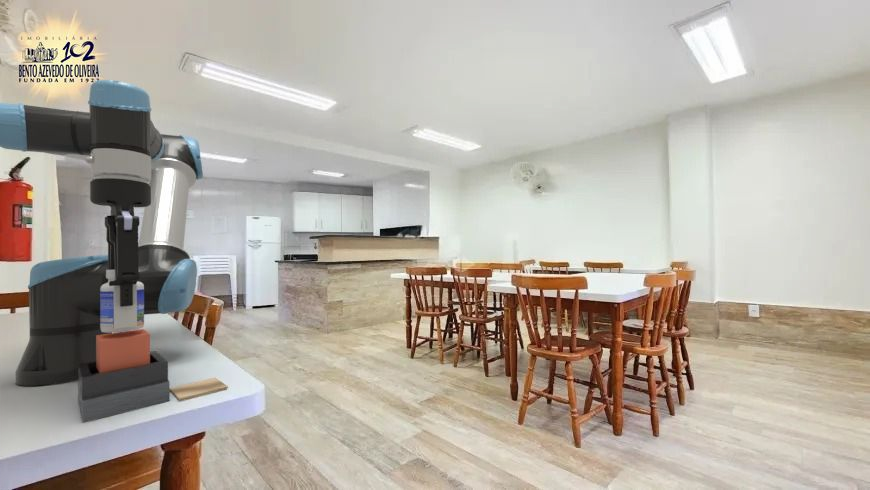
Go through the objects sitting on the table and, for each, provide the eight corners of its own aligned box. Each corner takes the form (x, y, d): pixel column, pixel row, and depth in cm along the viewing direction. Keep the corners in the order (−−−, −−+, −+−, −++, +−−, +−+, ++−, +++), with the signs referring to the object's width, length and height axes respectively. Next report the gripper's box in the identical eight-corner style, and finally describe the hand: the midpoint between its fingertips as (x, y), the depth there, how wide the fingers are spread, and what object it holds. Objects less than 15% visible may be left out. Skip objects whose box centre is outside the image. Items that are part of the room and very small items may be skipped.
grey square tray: (78, 400, 60) (77, 362, 60) (154, 383, 67) (154, 350, 67) (82, 422, 52) (82, 379, 52) (169, 400, 59) (169, 362, 59)
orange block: (96, 366, 59) (96, 335, 59) (143, 358, 64) (143, 329, 64) (99, 374, 55) (99, 341, 55) (149, 365, 60) (149, 333, 60)
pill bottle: (119, 333, 56) (118, 269, 57) (91, 333, 57) (90, 270, 58) (152, 326, 62) (152, 268, 62) (126, 325, 63) (126, 268, 63)
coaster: (169, 390, 63) (169, 388, 63) (215, 379, 68) (215, 377, 68) (179, 401, 58) (179, 398, 58) (227, 388, 64) (227, 386, 64)
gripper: (86, 186, 64) (86, 321, 63) (95, 167, 51) (96, 337, 50) (141, 190, 69) (142, 315, 69) (162, 174, 56) (163, 328, 56)
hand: (122, 324), depth 60 cm, fingers closed on pill bottle, 5 cm apart
